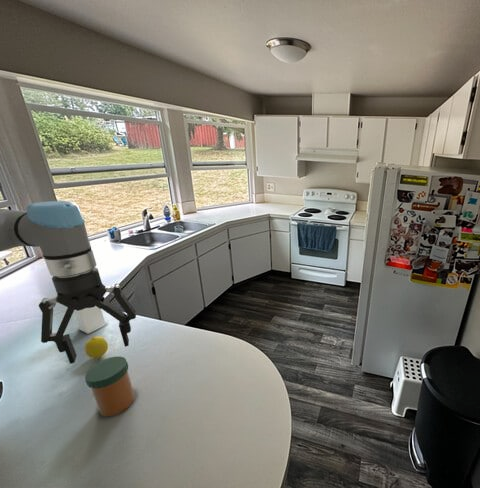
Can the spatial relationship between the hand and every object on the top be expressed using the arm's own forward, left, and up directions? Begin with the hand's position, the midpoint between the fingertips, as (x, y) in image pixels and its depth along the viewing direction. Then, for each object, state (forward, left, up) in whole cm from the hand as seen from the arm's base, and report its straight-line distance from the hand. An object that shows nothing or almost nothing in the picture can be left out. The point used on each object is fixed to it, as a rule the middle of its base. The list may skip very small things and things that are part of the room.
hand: (101, 351), depth 63 cm
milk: (-10, +45, -18) cm, 50 cm away
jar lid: (0, 0, -6) cm, 6 cm away
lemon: (-6, +24, -18) cm, 31 cm away
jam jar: (0, 0, -18) cm, 18 cm away
